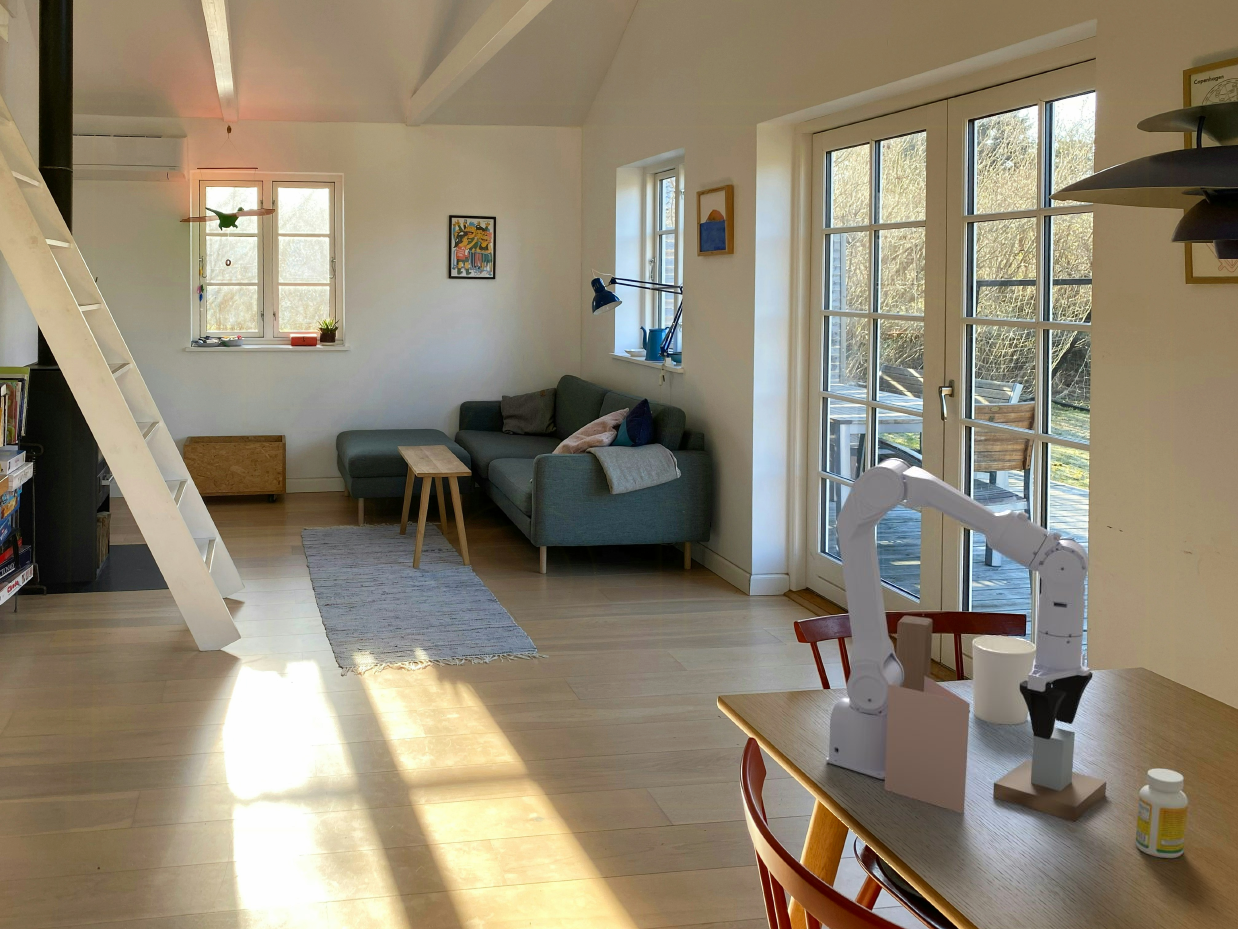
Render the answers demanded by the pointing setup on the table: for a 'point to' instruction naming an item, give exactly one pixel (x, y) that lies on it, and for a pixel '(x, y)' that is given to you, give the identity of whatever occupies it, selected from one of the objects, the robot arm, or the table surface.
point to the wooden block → (914, 650)
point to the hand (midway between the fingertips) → (1053, 729)
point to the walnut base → (1050, 793)
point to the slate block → (1053, 759)
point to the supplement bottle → (1162, 814)
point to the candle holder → (1001, 678)
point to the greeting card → (927, 745)
